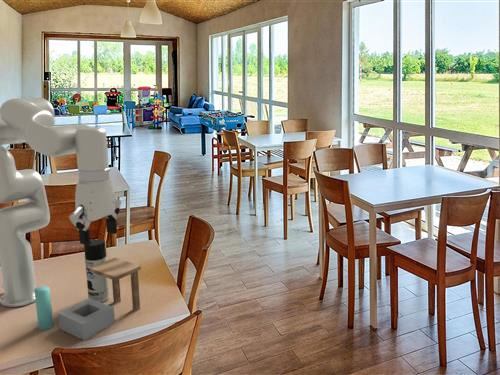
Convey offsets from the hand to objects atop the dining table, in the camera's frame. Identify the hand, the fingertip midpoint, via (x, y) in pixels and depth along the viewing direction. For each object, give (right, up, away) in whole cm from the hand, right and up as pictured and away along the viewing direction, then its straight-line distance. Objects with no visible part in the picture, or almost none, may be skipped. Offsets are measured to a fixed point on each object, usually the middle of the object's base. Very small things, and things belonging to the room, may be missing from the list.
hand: (99, 238), depth 120 cm
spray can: (-10, -24, +30) cm, 40 cm away
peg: (-20, -28, +13) cm, 37 cm away
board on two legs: (-2, -25, +23) cm, 34 cm away
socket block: (-8, -27, +14) cm, 32 cm away
